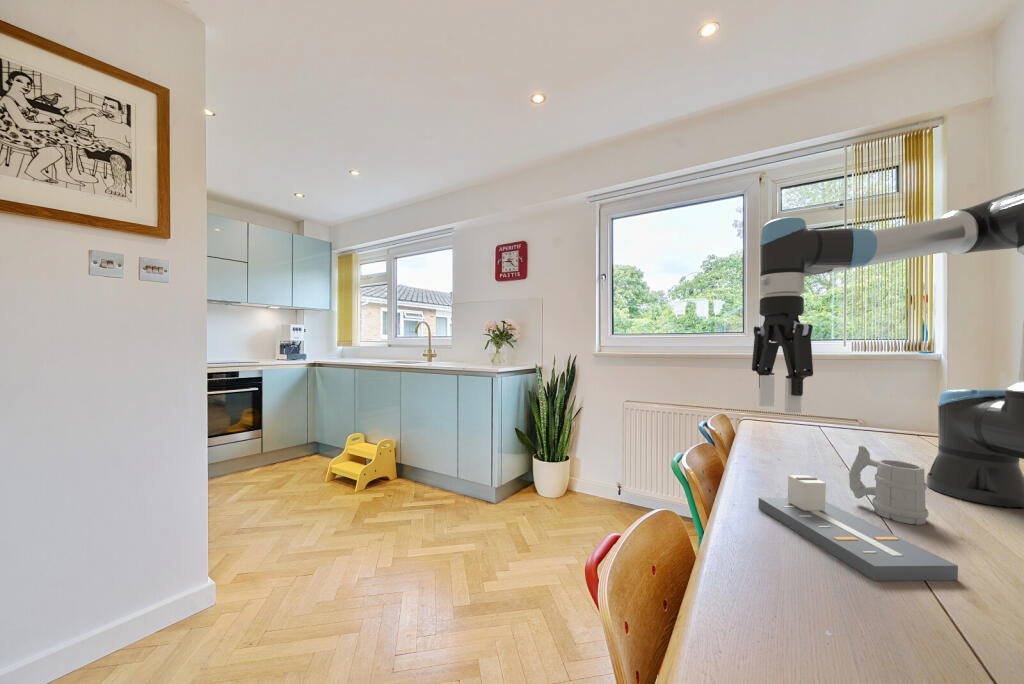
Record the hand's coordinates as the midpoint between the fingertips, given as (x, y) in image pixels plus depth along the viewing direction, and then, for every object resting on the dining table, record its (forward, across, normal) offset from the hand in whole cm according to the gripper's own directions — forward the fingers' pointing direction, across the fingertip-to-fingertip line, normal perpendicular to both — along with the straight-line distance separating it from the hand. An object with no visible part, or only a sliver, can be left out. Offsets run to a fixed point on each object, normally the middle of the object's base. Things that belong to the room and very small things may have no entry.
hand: (779, 408), depth 82 cm
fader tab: (+17, +8, 0) cm, 18 cm away
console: (+19, +15, 0) cm, 24 cm away
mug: (+19, +5, +18) cm, 27 cm away
